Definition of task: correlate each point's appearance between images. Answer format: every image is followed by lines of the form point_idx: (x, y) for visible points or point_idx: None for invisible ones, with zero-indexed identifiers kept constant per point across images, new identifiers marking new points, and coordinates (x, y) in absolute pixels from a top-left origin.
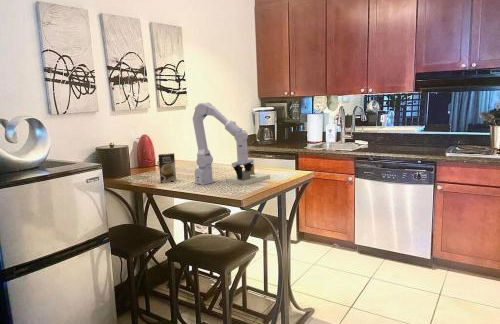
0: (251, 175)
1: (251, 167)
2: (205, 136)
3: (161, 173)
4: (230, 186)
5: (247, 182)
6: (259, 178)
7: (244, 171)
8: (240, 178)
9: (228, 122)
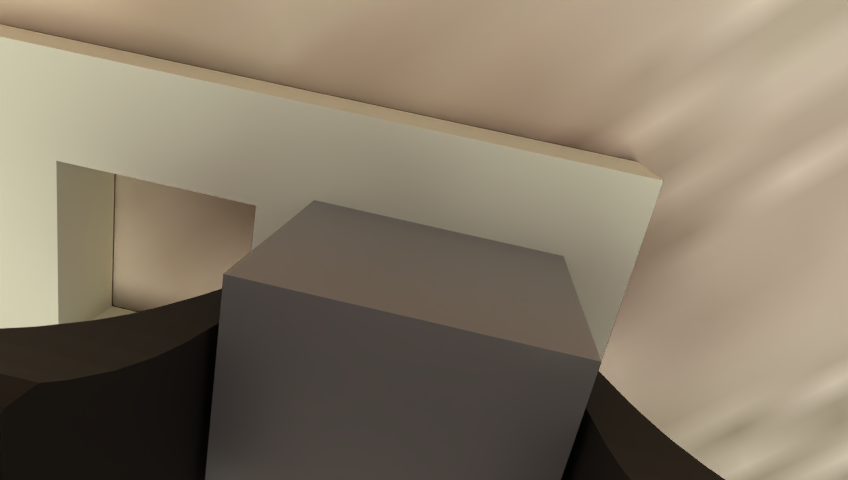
0: None
1: (20, 333)
2: None
3: None
4: (839, 381)
5: (540, 146)
6: (105, 56)
7: (368, 435)
8: None
9: None
